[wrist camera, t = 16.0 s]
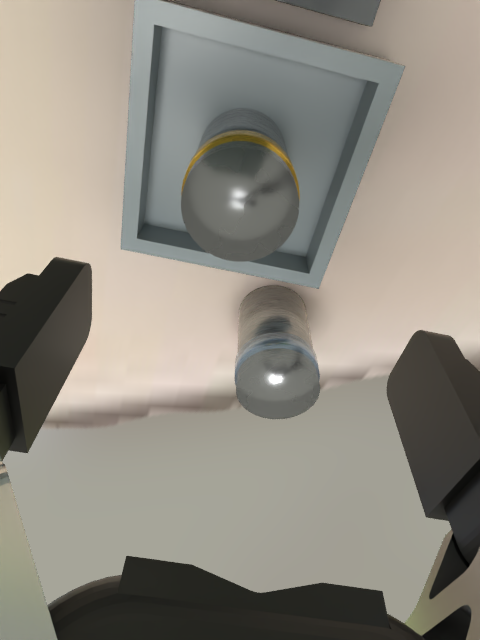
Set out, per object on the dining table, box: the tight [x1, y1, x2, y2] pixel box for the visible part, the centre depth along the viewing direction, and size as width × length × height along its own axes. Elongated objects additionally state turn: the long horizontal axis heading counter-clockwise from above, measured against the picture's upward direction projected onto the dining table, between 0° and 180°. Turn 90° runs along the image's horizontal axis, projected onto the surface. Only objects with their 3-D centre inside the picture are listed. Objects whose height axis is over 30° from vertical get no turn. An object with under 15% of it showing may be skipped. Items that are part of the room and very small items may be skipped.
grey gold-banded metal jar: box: [181, 108, 300, 262], centre depth 19 cm, size 5×5×7 cm
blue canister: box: [235, 286, 320, 419], centre depth 25 cm, size 5×5×7 cm
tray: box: [121, 0, 405, 289], centre depth 21 cm, size 11×11×2 cm
